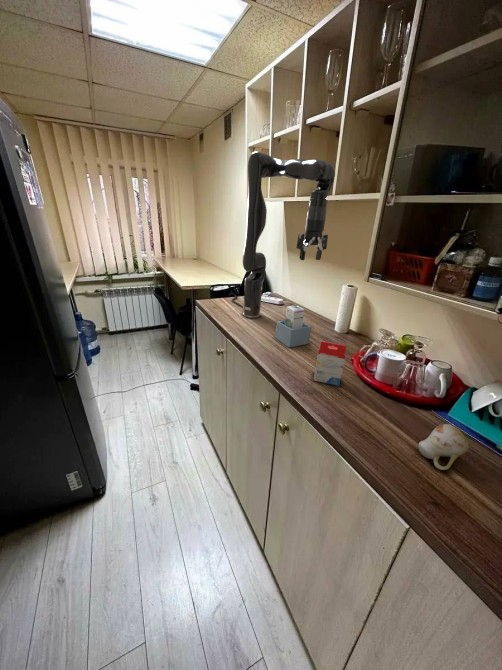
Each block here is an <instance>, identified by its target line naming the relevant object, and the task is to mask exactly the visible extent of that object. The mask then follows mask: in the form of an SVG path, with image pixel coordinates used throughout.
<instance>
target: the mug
mask: <svg viewBox="0 0 502 670" xmlns="http://www.w3.org/2000/svg"><path fill="white" fill-rule="evenodd" d="M418 451H419V453H420V454H421V455H422V456H423V457H425V458H426V459H429V460H433V466H434V467H435V468H436V469H438V470H440V471H446V470H449V469H450V468H451V467H452V465H453V463H454V462H455V461H456V460H457V459H458V458H459V457H460V456H463V455H464V454H466V453H467V452H468V451H469V443H468V441H467V439H466V437H465V435H464V434H463V433H462V431H460V430H459V429H458V428H456V427H455V426H454V425H452V424H449V423H444V424H440V425H438V426H436V427H435V428H434V429H433V430H432V431H431V433H430V434H429V436H428V437H427V438H425V439H424V440H421V441H419V443H418ZM440 457H449V461H448V463H447V464H446V465H445V466H443V465H440V463H439V459H440Z"/></svg>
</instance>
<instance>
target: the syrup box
mask: <svg viewBox="0 0 502 670" xmlns="http://www.w3.org/2000/svg"><path fill="white" fill-rule="evenodd" d="M285 309H286V310H285V318H284V320H285V325H286V326H287V327H289V328H291V329H296V328H302V325H303V323H304V317H305V308H303V307H300V306H298V305H287V306H286V308H285Z"/></svg>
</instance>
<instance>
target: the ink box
mask: <svg viewBox="0 0 502 670" xmlns="http://www.w3.org/2000/svg"><path fill="white" fill-rule="evenodd" d="M347 348H348V346H347V345H345V344H340V343H334V342H328V341H323V340H322V341H321V340H320V343H319V347H318V351H317V357H316V362H315V369H314V375H313V381H315V382H319V383H323V384H329V385H333V386H338V387H339V386H340V383H341V379H342V374H343V370H344V364H345V360H346V353H347V352H346V351H347Z"/></svg>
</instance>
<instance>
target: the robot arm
mask: <svg viewBox="0 0 502 670" xmlns="http://www.w3.org/2000/svg"><path fill="white" fill-rule="evenodd" d="M276 177H277V178H279V177H281V178H287V179H291V180H299V181H311V182H315V183H316V186H315V189H313V190H311V192H310V195H309V201H308V203H309V204H308V208H307V212H306V218H305V219H306V220H305V225H304V226H305V227H304V230H305V233H298V236H297V241H296V242H297V243H296V249H297V250H299V260H300V261H305V259H306V252H307V251H306V250H307V249H308V248H309V247H310V246H315V248H316V253H315V260H317V261H321V258H322V253H323V251H324V250H327V247H328V240H329V235H328V234H324V233H323V232H324V231H325V224H326V219H327V206H328V201H329V199H328V200H326V199H325V198H326V197H327V196H328V197H329V195H330V193H331V189H332V187H333V184H334V181H335V178H336V168H335V165H334V164H333V163H331V162H329V161H326V160H324V159H302V158H289V159H279V158H276V157H274V156H271V155H269V154H268V153H264V152H261V151H258V150H257V151H256V150H255V151H253V152H252V153H250V156H249V159H248V162H247V209H246V228H245V238H244V239H245V241H244V247H243V254H242V267H243V269H244V270H245V272H248V273H250V274H248V276H246V278H245V279H244V292H243V303H242V305H241V303H238V302H236V301H235V300H236V299H238V296H237V295H236V294H235V293H233V292H230V293H229V296H231V295H233V296H234V298H232V299H231V302H233V303H234V304H237V305H239V307H240V308H242V316H243V317H245V318H248V319H249V318H250V319H256V318H260V317H261V308H262V307H261V306H262V295H263V283H264V280H265V277H266V269H267V258H266V256H265V254H263V252H259V251H257V245H258V242H259V240H260V238H261V236H262V235H263V232H264V230H265V228H266V225H267V224H266V223H267V215H268V214H267V212H268V210H267V204H266V201H265V198H264V195H263V194H264V193H263V189H262V182H263V181H262V179H267V178H276ZM334 177H335V178H334Z"/></svg>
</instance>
